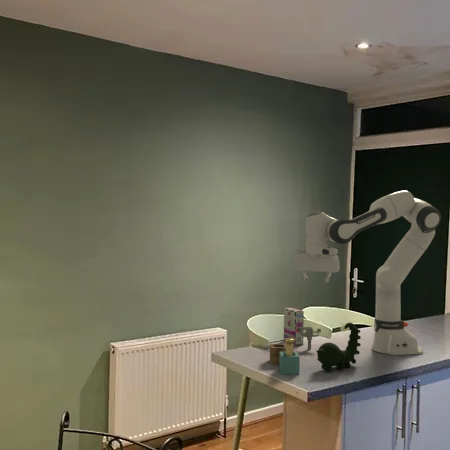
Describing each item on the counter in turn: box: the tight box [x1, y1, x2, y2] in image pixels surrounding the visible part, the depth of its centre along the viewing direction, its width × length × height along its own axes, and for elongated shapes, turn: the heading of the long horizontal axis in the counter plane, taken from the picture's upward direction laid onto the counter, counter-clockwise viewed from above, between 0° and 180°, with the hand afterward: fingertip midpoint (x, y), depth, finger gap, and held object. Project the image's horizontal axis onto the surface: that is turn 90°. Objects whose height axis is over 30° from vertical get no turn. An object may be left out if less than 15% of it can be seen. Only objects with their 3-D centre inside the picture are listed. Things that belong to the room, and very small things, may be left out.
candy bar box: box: [283, 307, 305, 346], centre depth 260 cm, size 11×5×16 cm, turn 23°
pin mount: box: [269, 343, 286, 366], centre depth 226 cm, size 7×7×7 cm
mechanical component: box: [298, 326, 322, 351], centre depth 248 cm, size 3×10×10 cm, turn 78°
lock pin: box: [284, 338, 295, 356], centre depth 213 cm, size 4×4×13 cm
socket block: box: [278, 351, 301, 375], centre depth 213 cm, size 7×7×7 cm
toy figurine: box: [315, 322, 362, 372], centre depth 218 cm, size 9×19×25 cm
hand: (316, 281), depth 232 cm, fingers open, 8 cm apart
